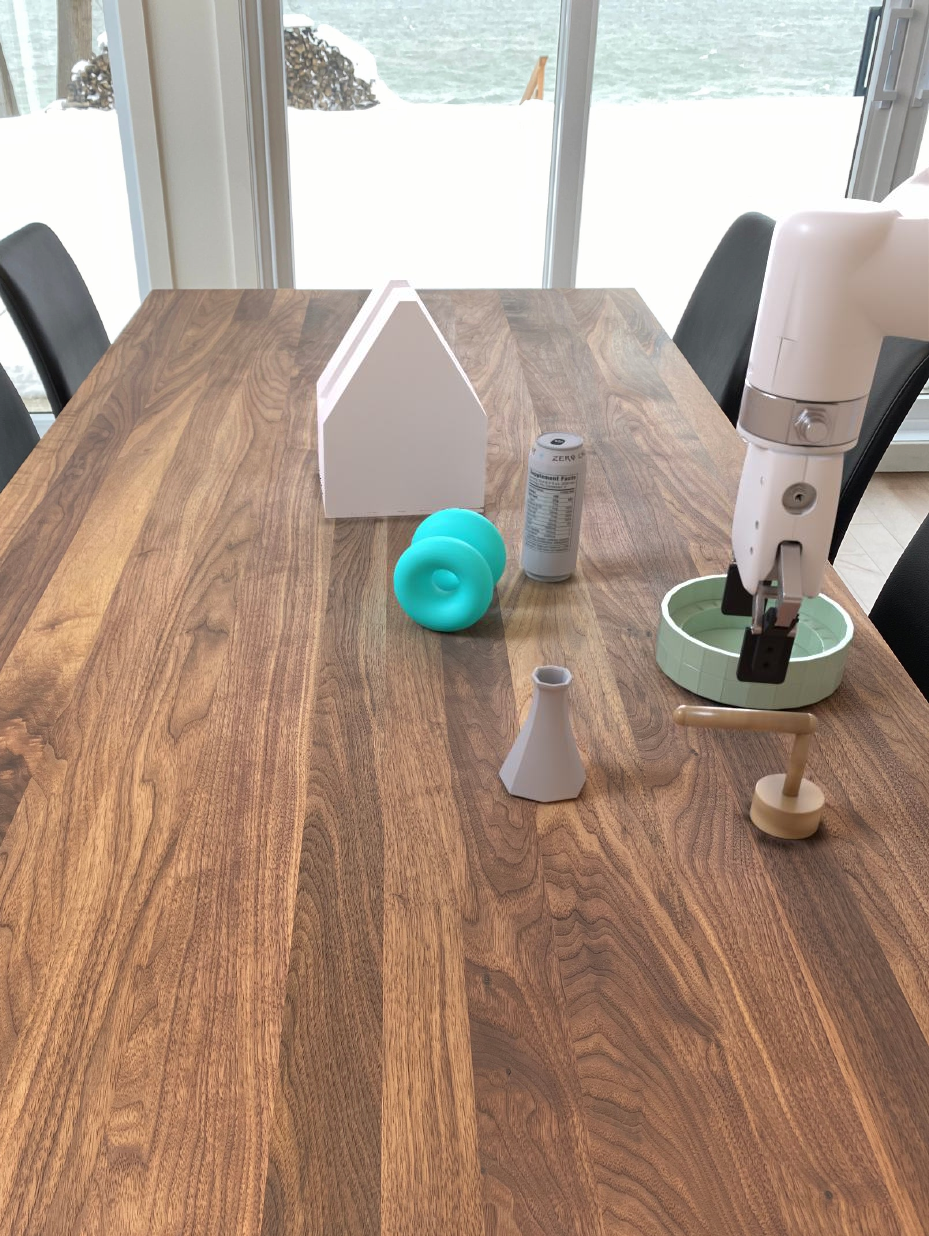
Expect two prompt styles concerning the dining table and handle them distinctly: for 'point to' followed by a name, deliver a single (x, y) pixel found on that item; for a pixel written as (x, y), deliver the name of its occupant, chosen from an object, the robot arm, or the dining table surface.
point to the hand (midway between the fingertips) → (750, 646)
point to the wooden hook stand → (777, 798)
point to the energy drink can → (553, 506)
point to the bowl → (711, 644)
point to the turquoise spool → (450, 570)
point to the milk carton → (398, 415)
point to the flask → (546, 744)
